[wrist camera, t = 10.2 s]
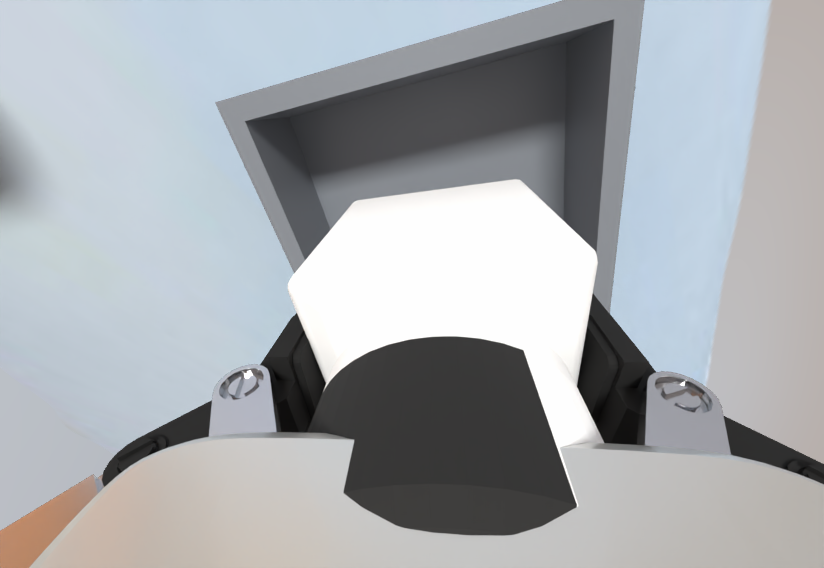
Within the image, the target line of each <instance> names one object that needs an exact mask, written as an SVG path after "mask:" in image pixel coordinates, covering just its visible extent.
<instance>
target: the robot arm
mask: <svg viewBox="0 0 824 568" xmlns="http://www.w3.org/2000/svg"><path fill="white" fill-rule="evenodd" d="M325 385H326V382H325V380H324V377H323V375H322V372H321V370H320V368H319V365H318V363H317V360H316V358H315V355H314V353H313V351H312V348H311V345H310V343H309V340H308V338H307V336H306V334H305V331H304V329H303V326H302V324H301V321H300V319H299V317H298V314H297V313H296V315H295V316H293V317H292V318H291V320H290V321H289V323H288V324H287V326H286V327H285V329H284V330H283V332H282V333H281V335H280V336H279V338H278V339H277V341H276V342H275V344H274V345H273V346H272V348H271V349H270V351H269V352H268V354H267V355H266V357H265V358H264V360H263V361H262V363H261V364H260V365H258V364H251V365H246V366H241V367H239V368H237V369H234V370H232V371H231V372H229V373H228V374H226V375H225V376H224V377H223V378H221V379H220V380H219V382H218V383H217V384H216V386H215V387H214V391H213V395H212V401H210V402H208V403H206V404H204V405H202V406H200V407H198V408H196V409H194V410H192V411H190V412H188V413H186V414H184V415H182V416H181V417H179V418H177V419H175V420H173V421H171V422H169V423H167V424H165V425H163V426H161V427H159V428H157V429H155V430H153V431H151V432H149V433H147V434H146V435H144V436H142V437H140V438H138V439H136V440H135V441H133V442H131V443H130V444H128V445H127V446H125V447H124V448H123V449H122V450H121V451H119V452H118V453H117V454H116V455H115V456H114V457H113V458H112V460H111V461H110V462H109V463H108V465H107V467H106V468H105V470H104V472H103V475H101V476H100V477H98V478H97V477H96V476H95V475H94V474H93V475H91V476H90V477H88V478H86V479H85V480H83V481H81V482H80V483H78V484H76V485H75V486H73V487H71V488H70V489H68V490H66V491H65V492H63V493H62V494H60V495H58V496H57V497H55V498H53V499H52V500H50V501H49V502H47V503H45V504H44V505H42V506H40V507H39V508H37V509H35V510H34V511H32V512H30V513H29V514H27V515H25V516H24V517H22V518H21V519H19V520H17V521H16V522H14V523H12V524H11V525H9V526H7V527H6V528H4V529H2V530H1V531H0V568H824V464H822V463H820V462H818V461H816V460H814V459H812V458H810V457H808V456H806V455H804V454H802V453H799V452H797V451H795V450H793V449H791V448H789V447H787V446H785V445H783V444H781V443H779V442H777V441H775V440H773V439H770V438H768V437H766V436H764V435H762V434H760V433H758V432H756V431H754V430H752V429H750V428H748V427H745V426H744V425H741V424H739V423H737V422H735V421H733V420H731V419H729V418H727V417H725V416H723V411H722V406H721V404H720V402H719V399H718V398H717V397H716V396H715V395H714V394H713V392H711V391H710V390H709V389H708V388H707V387H705V386H704V385H703V384H701V383H699V382H697V381H695V380H694V379H692V378H689V377H687V376H684V375H682V374H678V373H673V372H664V371H661V372H656V371H655V370H654V369H653V368H652V366H651V365H650V364H649V362H648V361H647V359H646V358H645V357H644V356H643V354H642V353H641V352H640V351H639V349H638V348H637V347H636V346H635V344H634V343H633V342H632V341H631V340H630V338H629V337H628V336H627V335H626V333H625V332H624V331H623V330H622V328H621V327H620V326H619V325H618V324H617V322H616V321H615V320H614V319H613V317H612V316H611V315H610V314H609V312H608V311H607V310H606V309H605V308H604V306H603V305H602V304H601V303H600V301H599V300H598V299H597V298H596V296H595V295H594V294H592V300H591V306H590V312H589V318H588V323H587V329H586V335H585V341H584V347H583V353H582V359H581V365H580V370H579V376H578V382H577V388H578V390H579V392H580V394H581V396H582V398H583V400H584V402H585V404H586V406H587V408H588V411H589V413H590V415H591V417H592V419H593V421H594V423H595V425H596V427H597V429H598V431H599V433H600V435H601V437H602V439H603V441H604V443H590V442H587V443H582V444H576V445H569V446H564V447H560V450H561V453H562V457H563V460H564V463H565V466H566V469H567V472H568V475H569V478H570V481H571V484H572V487H573V490H574V493H575V496H576V499H577V502H578V505H579V506H578V507H576V508H574V509H573V510H571V511H569V512H567V513H565V514H564V515H562V516H560V517H558V518H556V519H554V520H553V521H551V522H549V523H547V524H545V525H543V526H541V527H538V528H535V529H532V530H528V531H525V532H522V533H518V534H515V535H506V536H494V535H458V534H446V533H432V532H426V531H420V530H414V529H407V528H403V527H399V526H396V525H394V524H392V523H390V522H389V521H387V520H385V519H383V518H381V517H379V516H377V515H375V514H374V513H372V512H370V511H368V510H366V509H364V508H362V507H361V506H359V505H358V504H357V503H356V502H354V501H353V500H352V499H350V498H349V497H348V496H347V495H345V494H344V493H343V492H344V487H345V482H346V477H347V473H348V468H349V463H350V458H351V454H352V449H353V444H354V439H349V438H345V437H341V436H337V435H332V434H328V433H307V431H308V429H309V426H310V423H311V421H312V418H313V416H314V413H315V411H316V408H317V406H318V403H319V401H320V398H321V395H322V393H323V390H324V388H325Z"/></svg>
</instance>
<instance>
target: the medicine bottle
mask: <svg viewBox="0 0 824 568" xmlns="http://www.w3.org/2000/svg"><path fill="white" fill-rule="evenodd" d="M597 265H598V260H597V255H596V252H595V250H594V249H593V248H592V247H591V246H590V245H588V244H587V243H586V242H585V241H584V240H583V239H582V238H581V237H580V236H579V235H578V234H577V233H576V232H575V231H574V230H573V229H572V228H571V227H570V226H568V225H567V224H566V223H565V222H564V221H563V220H562V219H561V218H560V217H559V216H558V215H557V214H556V213H555V212H554V211H553V210H552V209H551V208H549V207H548V206H547V205H546V204H545V203H544V202H543V201H542V200H541V199H540V198H539V197H538V196H537V195H536V194H535V193H534V192H533V191H532V190H531V189H529V188H528V187H527V186H526V185H525V184H524V183H523V182H522V181H521V180H517V179H513V180H505V181H498V182H490V183H483V184H475V185H468V186H461V187H453V188H446V189H438V190H431V191H423V192H416V193H408V194H401V195H393V196H386V197H378V198H371V199H363V200H357V201H355V202H353V203H352V205H351V206H350V207H349V208H348V209H347V211H346V212H345V213H344V214H343V215H342V217H341V218H340V219H339V220H338V221H337V223H336V224H335V225H334V226H333V228H332V229H331V230H330V231H329V232H328V234H327V235H326V236H325V237H324V238H323V240H322V241H321V242H320V243H319V244H318V246H317V247H316V248H315V249H314V250H313V252H312V253H311V254H310V255H309V256H308V258H307V259H306V260H305V261H304V262H303V264H302V265H301V266H300V267H299V268H298V270H297V271H296V272H295V273H294V275H293V276H292V277H291V279H290V280H289V283H288V292H289V295H290V297H291V299H292V302H293V304H294V307H295V309H296V312H297V314H298V317H299V319H300V321H301V324H302V326H303V329H304V331H305V334H306V336H307V338H308V340H309V343H310V345H311V348H312V351H313V353H314V355H315V358H316V360H317V363H318V365H319V368H320V370H321V372H322V375H323V377H324V380H325V382H326V385H325V388H324V390H323V393H322V395H321V398H320V401H319V403H318V406H317V408H316V411H315V413H314V416H313V418H312V421H311V423H310V426H309V429H308V431H307V433H328V434H332V435H337V436H341V437H345V438H349V439H354V444H353V449H352V454H351V458H350V463H349V468H348V473H347V477H346V482H345V487H344V492H343V493H344V494H345V495H347V496H348V497H349V498H350V499H352V500H353V501H354V502H356V503H357V504H358V505H359V506H361V507H362V508H364V509H366V510H368V511H370V512H372V513H374V514H375V515H377V516H379V517H381V518H383V519H385V520H387V521H389V522H390V523H392V524H394V525H396V526H399V527H403V528H407V529H414V530H420V531H426V532H432V533H446V534H458V535H494V536H506V535H515V534H518V533H522V532H525V531H528V530H532V529H535V528H538V527H541V526H543V525H545V524H547V523H549V522H551V521H553V520H554V519H556V518H558V517H560V516H562V515H564V514H565V513H567V512H569V511H571V510H573V509H574V508H576V507H578V506H579V505H578V502H577V499H576V496H575V493H574V490H573V487H572V484H571V481H570V478H569V475H568V472H567V469H566V466H565V463H564V460H563V457H562V453H561V450H560V447H564V446H569V445H576V444H582V443H587V442H590V443H604V441H603V439H602V437H601V435H600V433H599V431H598V429H597V427H596V425H595V423H594V421H593V419H592V417H591V415H590V413H589V411H588V408H587V406H586V404H585V402H584V400H583V398H582V396H581V394H580V392H579V390H578V388H577V382H578V376H579V370H580V365H581V359H582V353H583V347H584V341H585V335H586V329H587V323H588V318H589V312H590V306H591V300H592V294H593V288H594V282H595V276H596V270H597Z"/></svg>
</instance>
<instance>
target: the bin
mask: <svg viewBox="0 0 824 568" xmlns="http://www.w3.org/2000/svg"><path fill="white" fill-rule="evenodd" d="M644 1H645V0H563V1H559V2H556V3H553V4H549V5H546V6H542V7H539V8H536V9H532V10H529V11H525V12H522V13H519V14H515V15H512V16H508V17H505V18H502V19H498V20H495V21H491V22H488V23H484V24H481V25H478V26H474V27H471V28H467V29H464V30H461V31H457V32H454V33H450V34H447V35H444V36H440V37H437V38H433V39H430V40H427V41H423V42H420V43H416V44H413V45H410V46H406V47H403V48H399V49H396V50H393V51H389V52H386V53H382V54H379V55H376V56H372V57H369V58H365V59H362V60H358V61H355V62H352V63H348V64H345V65H341V66H338V67H335V68H331V69H328V70H324V71H321V72H318V73H314V74H311V75H307V76H304V77H301V78H297V79H294V80H290V81H287V82H284V83H280V84H277V85H273V86H270V87H267V88H263V89H260V90H256V91H253V92H250V93H246V94H243V95H239V96H236V97H232V98H229V99H226V100H222V101H219V102H215V103H216V105H217V107H218V110H219V112H220V114H221V116H222V118H223V120H224V123H225V125H226V127H227V129H228V131H229V133H230V135H231V138H232V140H233V142H234V144H235V146H236V148H237V151H238V153H239V155H240V157H241V159H242V161H243V164H244V166H245V168H246V170H247V172H248V174H249V176H250V179H251V181H252V183H253V185H254V187H255V189H256V192H257V194H258V196H259V198H260V200H261V202H262V205H263V207H264V209H265V211H266V213H267V215H268V218H269V220H270V222H271V224H272V226H273V228H274V230H275V233H276V235H277V237H278V239H279V241H280V243H281V246H282V248H283V250H284V252H285V254H286V256H287V259H288V261H289V263H290V265H291V267H292V269H293V271H294V273H295V272H296V271H297V270H298V268H299V267H300V266H301V265H302V264H303V262H304V261H305V260H306V259H307V258H308V256H309V255H310V254H311V253H312V252H313V250H314V249H315V248H316V247H317V246H318V244H319V243H320V242H321V241H322V240H323V238H324V237H325V236H326V235H327V234H328V232H329V231H330V230H331V229H332V228H333V226H334V225H335V224H336V223H337V221H338V220H339V219H340V218H341V217H342V215H343V214H344V213H345V212H346V211H347V209H348V208H349V207H350V206H351V205H352V203H353V202H355V201H357V200H363V199H371V198H378V197H386V196H393V195H401V194H408V193H416V192H423V191H431V190H438V189H446V188H453V187H461V186H468V185H475V184H483V183H490V182H498V181H505V180H513V179H517V180H521V181H522V182H523V183H524V184H525V185H526V186H527V187H528V188H529V189H531V190H532V191H533V192H534V193H535V194H536V195H537V196H538V197H539V198H540V199H541V200H542V201H543V202H544V203H545V204H546V205H547V206H548V207H549V208H551V209H552V210H553V211H554V212H555V213H556V214H557V215H558V216H559V217H560V218H561V219H562V220H563V221H564V222H565V223H566V224H567V225H568V226H570V227H571V228H572V229H573V230H574V231H575V232H576V233H577V234H578V235H579V236H580V237H581V238H582V239H583V240H584V241H585V242H586V243H587V244H588V245H590V246H591V247H592V248H593V249H594V250H595V252H596V255H597V260H598V265H597V270H596V276H595V282H594V288H593V294H594V295H595V296H596V298H597V299H598V300H599V301H600V303H601V304H602V305H603V306H604V308H605V309H606V310H607V311H608V312H609V314H610V305H611V296H612V287H613V278H614V270H615V261H616V252H617V243H618V234H619V225H620V216H621V207H622V198H623V189H624V180H625V171H626V162H627V153H628V144H629V135H630V126H631V117H632V108H633V100H634V91H635V82H636V73H637V64H638V55H639V46H640V37H641V28H642V19H643V10H644Z"/></svg>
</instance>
